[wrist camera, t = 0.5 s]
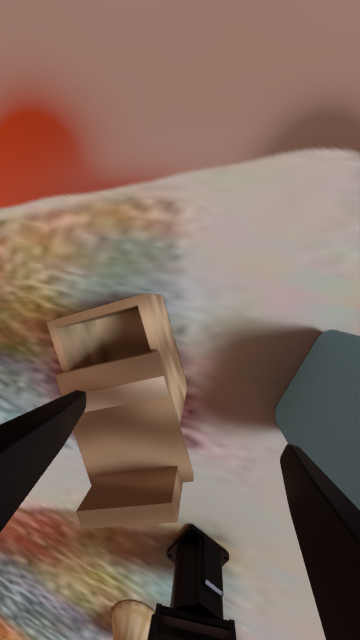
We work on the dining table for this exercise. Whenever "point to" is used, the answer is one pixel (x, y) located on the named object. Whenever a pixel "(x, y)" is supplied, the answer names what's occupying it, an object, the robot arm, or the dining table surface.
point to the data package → (327, 409)
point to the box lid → (129, 442)
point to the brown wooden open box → (121, 338)
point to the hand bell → (131, 620)
